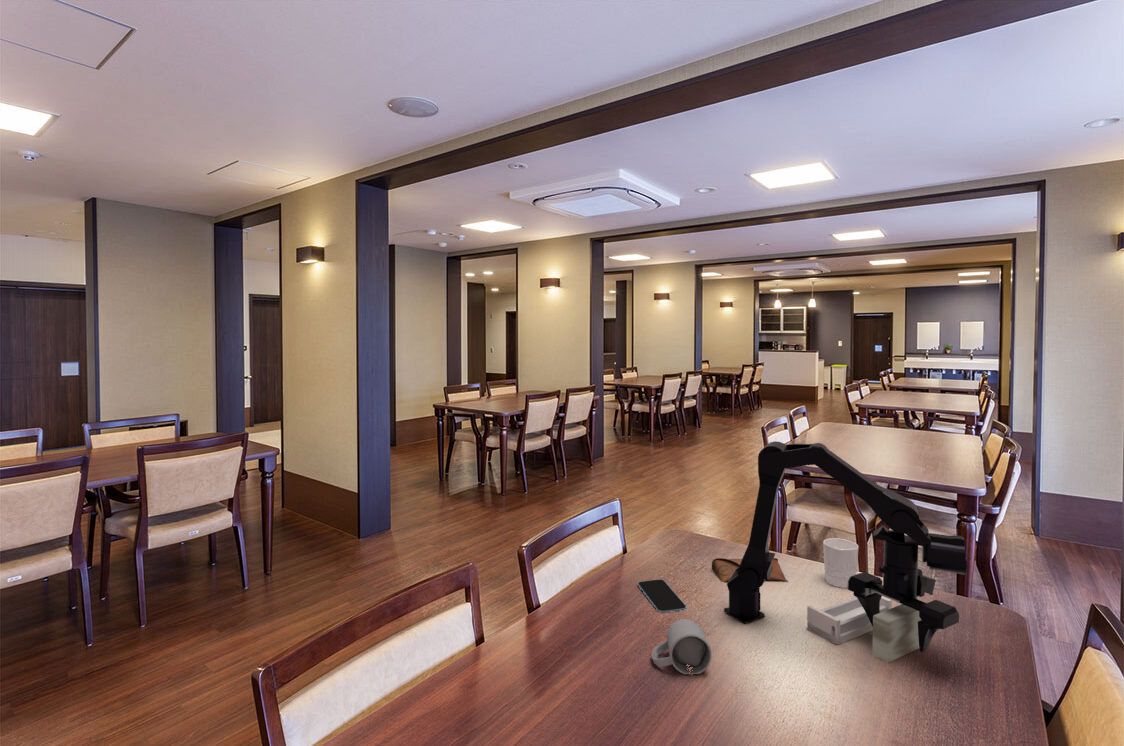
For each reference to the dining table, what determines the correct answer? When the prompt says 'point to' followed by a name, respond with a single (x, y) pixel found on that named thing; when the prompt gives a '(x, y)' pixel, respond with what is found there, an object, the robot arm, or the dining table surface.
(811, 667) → the dining table surface
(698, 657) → the ceramic mug
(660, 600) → the smartphone
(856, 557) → the white cup
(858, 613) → the cabinet track
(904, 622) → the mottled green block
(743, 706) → the dining table surface
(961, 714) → the dining table surface
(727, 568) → the sunglasses case
